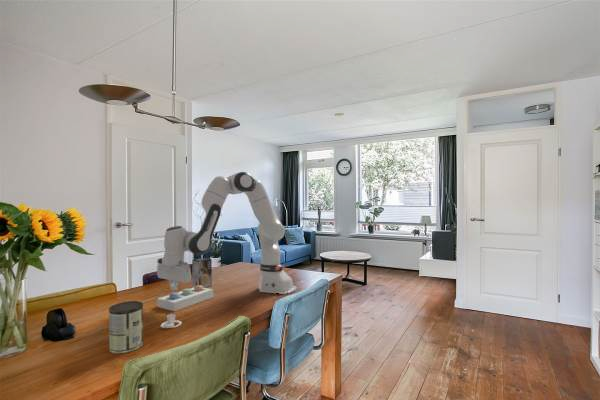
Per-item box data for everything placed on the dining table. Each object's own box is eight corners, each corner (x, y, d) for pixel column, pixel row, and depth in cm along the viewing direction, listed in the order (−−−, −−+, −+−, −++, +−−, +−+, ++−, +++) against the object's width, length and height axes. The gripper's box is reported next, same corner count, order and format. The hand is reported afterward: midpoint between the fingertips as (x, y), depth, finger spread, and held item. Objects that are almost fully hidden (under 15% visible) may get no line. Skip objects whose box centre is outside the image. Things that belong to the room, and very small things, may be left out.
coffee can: (119, 339, 112) (119, 301, 112) (148, 339, 113) (148, 300, 113) (102, 354, 102) (102, 311, 102) (133, 353, 103) (134, 310, 103)
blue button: (180, 299, 149) (180, 293, 149) (173, 301, 145) (173, 295, 145) (174, 298, 151) (174, 291, 151) (167, 300, 147) (167, 294, 147)
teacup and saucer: (170, 331, 121) (170, 320, 121) (154, 328, 124) (154, 318, 124) (185, 323, 129) (186, 313, 129) (170, 320, 132) (170, 310, 132)
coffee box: (205, 284, 187) (205, 257, 187) (212, 286, 183) (212, 258, 183) (192, 287, 180) (192, 259, 180) (198, 289, 176) (198, 261, 176)
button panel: (197, 293, 168) (197, 286, 168) (213, 297, 162) (213, 289, 162) (157, 306, 147) (157, 298, 147) (174, 311, 141) (174, 302, 141)
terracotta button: (204, 291, 162) (204, 285, 162) (198, 293, 158) (198, 287, 158) (198, 290, 164) (198, 284, 164) (192, 292, 161) (192, 286, 161)
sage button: (193, 295, 156) (193, 289, 156) (186, 297, 152) (186, 291, 152) (187, 294, 158) (187, 288, 158) (180, 296, 154) (180, 290, 154)
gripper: (194, 261, 146) (194, 291, 146) (166, 257, 156) (165, 285, 156) (183, 263, 140) (183, 294, 140) (154, 259, 150) (154, 288, 150)
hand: (173, 289), depth 148 cm, fingers closed
